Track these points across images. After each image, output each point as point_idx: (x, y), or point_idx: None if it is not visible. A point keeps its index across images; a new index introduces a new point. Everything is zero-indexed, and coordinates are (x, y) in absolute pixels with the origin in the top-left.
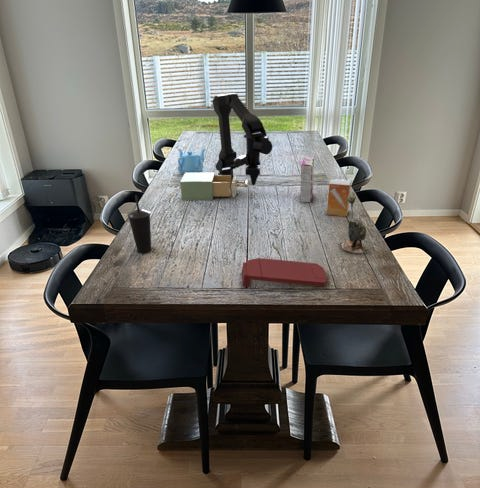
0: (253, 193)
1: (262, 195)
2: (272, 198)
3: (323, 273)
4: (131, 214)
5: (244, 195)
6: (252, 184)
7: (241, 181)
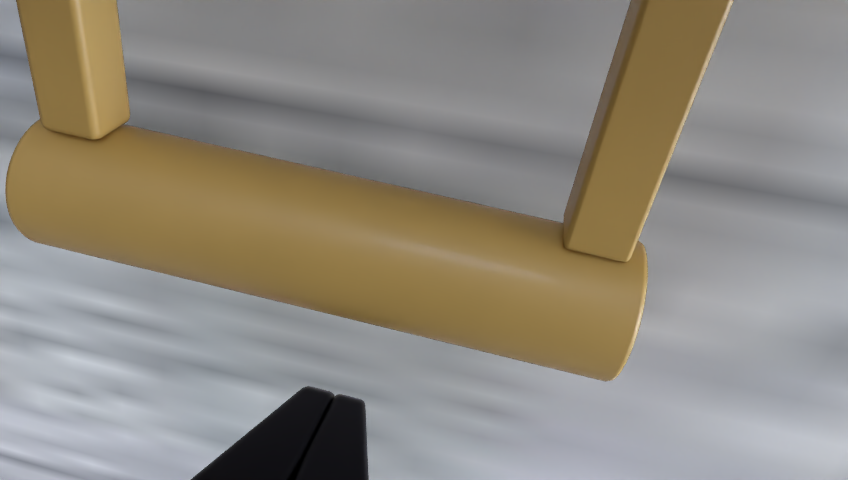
0: None
1: (326, 371)
2: (176, 451)
3: None
4: None
5: (365, 14)
6: (296, 402)
7: (649, 80)
